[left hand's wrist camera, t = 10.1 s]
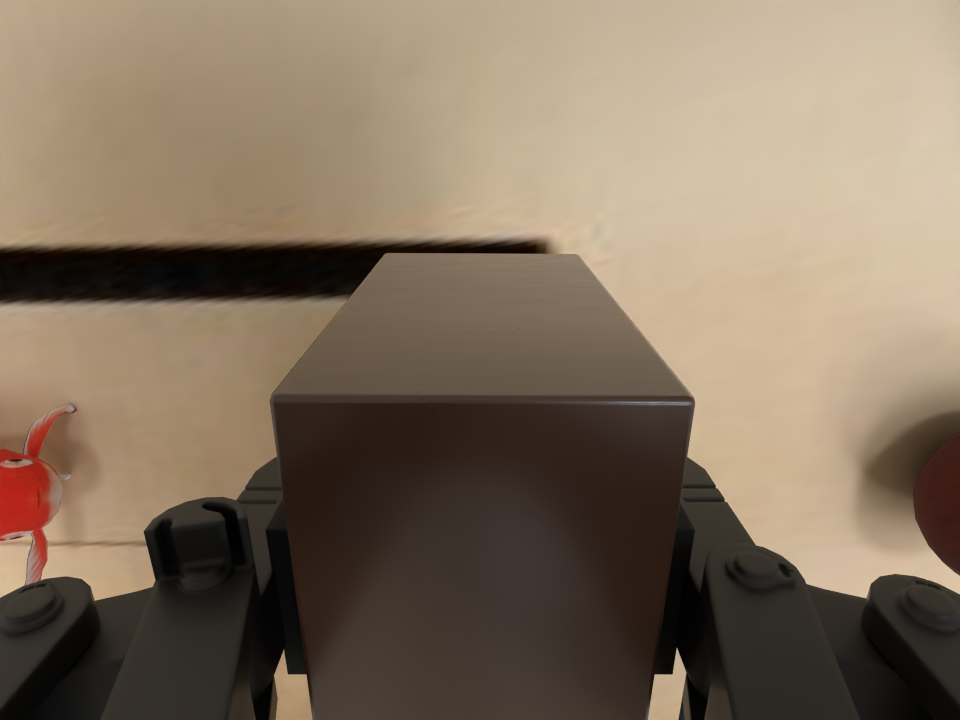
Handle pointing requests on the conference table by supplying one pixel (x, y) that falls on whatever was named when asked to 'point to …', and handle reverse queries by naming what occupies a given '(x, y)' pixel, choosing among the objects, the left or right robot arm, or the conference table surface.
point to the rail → (481, 494)
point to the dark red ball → (941, 502)
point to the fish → (30, 493)
